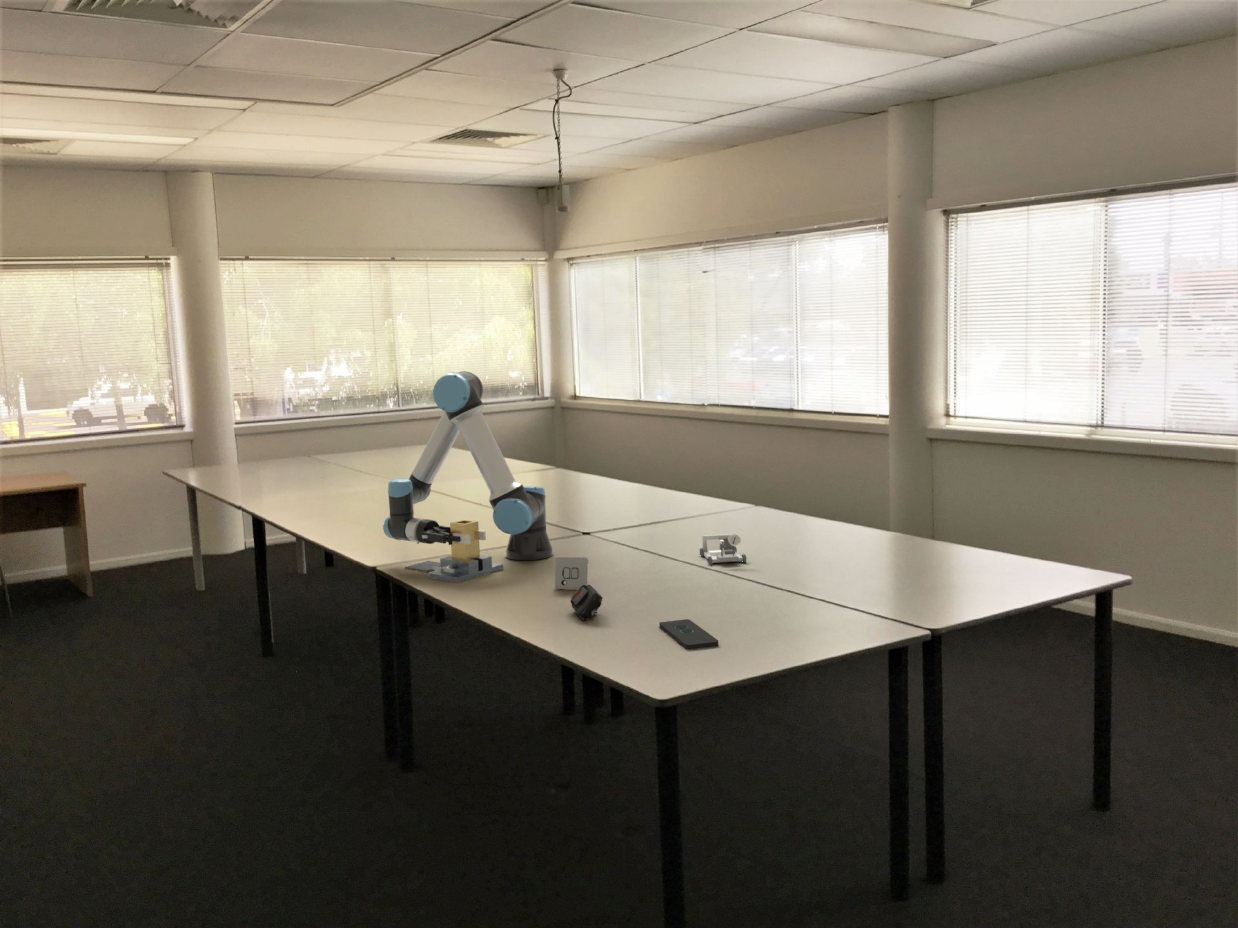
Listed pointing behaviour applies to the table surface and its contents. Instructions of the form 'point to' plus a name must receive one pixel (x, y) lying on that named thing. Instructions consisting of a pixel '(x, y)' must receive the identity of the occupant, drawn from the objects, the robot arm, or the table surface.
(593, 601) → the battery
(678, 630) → the smart home device
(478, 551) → the brass sleeve
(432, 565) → the rubber mat
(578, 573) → the electrical switch
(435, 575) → the vise
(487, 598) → the table surface
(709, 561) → the grey toy rover
